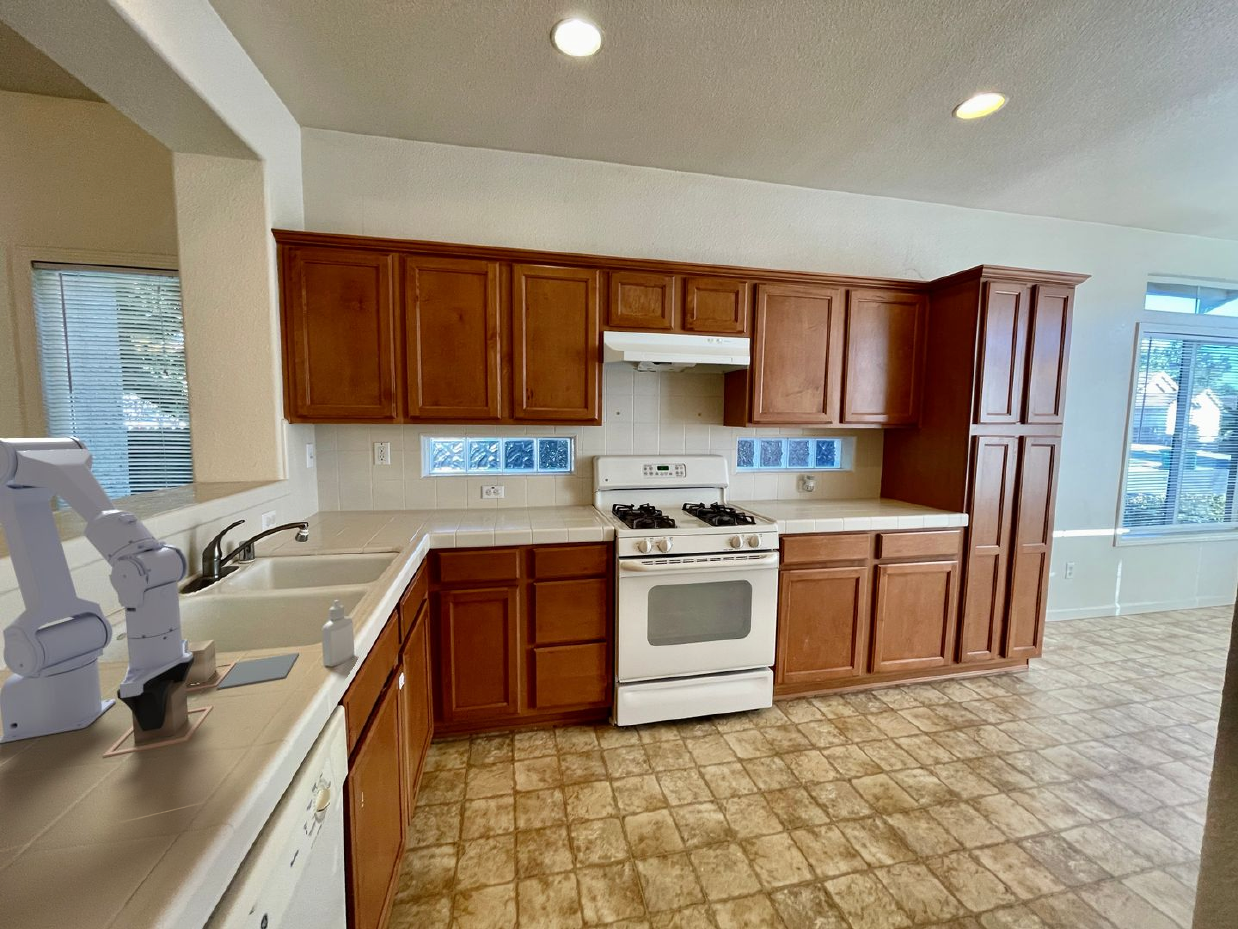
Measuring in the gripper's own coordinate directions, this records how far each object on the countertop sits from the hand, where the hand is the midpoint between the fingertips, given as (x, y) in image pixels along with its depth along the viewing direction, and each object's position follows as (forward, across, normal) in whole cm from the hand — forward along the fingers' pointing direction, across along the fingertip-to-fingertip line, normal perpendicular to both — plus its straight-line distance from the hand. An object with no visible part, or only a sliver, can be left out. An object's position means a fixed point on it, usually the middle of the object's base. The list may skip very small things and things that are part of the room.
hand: (161, 719), depth 72 cm
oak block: (+2, +17, +2) cm, 17 cm away
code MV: (+2, +17, +2) cm, 17 cm away
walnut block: (+2, 0, 0) cm, 2 cm away
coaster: (+2, +16, -8) cm, 18 cm away
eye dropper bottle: (+2, +15, -21) cm, 26 cm away
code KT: (+2, 0, 0) cm, 2 cm away
